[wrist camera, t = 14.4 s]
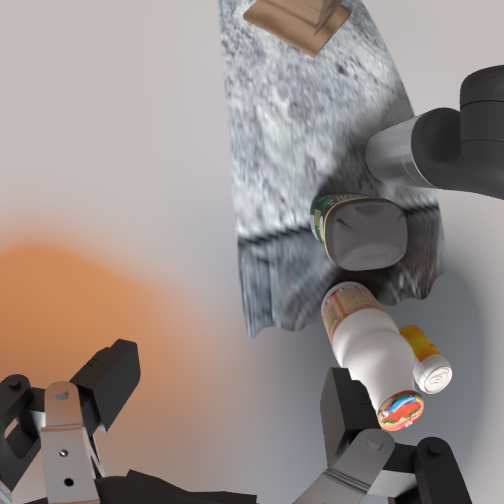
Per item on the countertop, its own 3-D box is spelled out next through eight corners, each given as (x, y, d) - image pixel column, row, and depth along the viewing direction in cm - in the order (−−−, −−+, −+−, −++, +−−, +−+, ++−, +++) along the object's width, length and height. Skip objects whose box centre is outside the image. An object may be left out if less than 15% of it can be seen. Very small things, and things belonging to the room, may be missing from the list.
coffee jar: (364, 189, 45) (414, 196, 27) (367, 237, 47) (415, 270, 29) (305, 194, 46) (326, 203, 28) (310, 243, 48) (332, 281, 30)
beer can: (415, 348, 51) (446, 392, 37) (389, 351, 52) (417, 398, 37) (422, 322, 50) (458, 362, 35) (395, 323, 50) (428, 367, 36)
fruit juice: (354, 268, 49) (429, 359, 21) (380, 308, 50) (452, 409, 23) (309, 300, 50) (340, 416, 23) (337, 338, 52) (378, 456, 25)
